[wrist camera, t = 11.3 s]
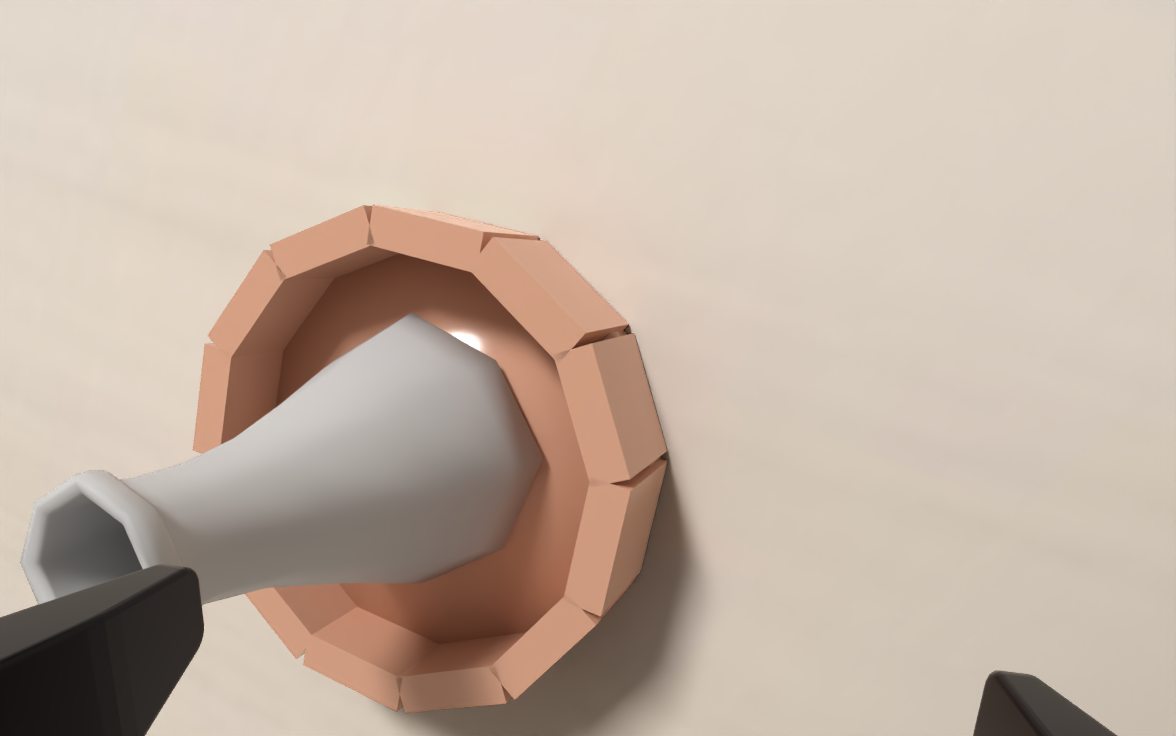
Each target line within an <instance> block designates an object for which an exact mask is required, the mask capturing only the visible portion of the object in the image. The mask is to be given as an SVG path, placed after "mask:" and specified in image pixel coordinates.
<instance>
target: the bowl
mask: <svg viewBox="0 0 1176 736" xmlns="http://www.w3.org/2000/svg"><path fill="white" fill-rule="evenodd" d="M270 246H271V250H272V251H269V250H263V252H262V253H261V255H260V257H259V258H258V260H257V261H256V263H255V264H254V266H253V267H252V269H251V270H250V272H249V273H248V275H247V276H246V278H245V279H244V281H243V282H242V284H241V285H240V287H239V288H238V290H237V292H236V293H235V295H234V296H233V298H232V299H231V301H230V302H229V304H228V305H227V307H226V308H225V310H224V311H223V313H222V314H221V316H220V317H219V319H218V320H217V322H216V323H215V325H214V327H213V328H212V330H211V331H210V333H209V334H208V336H209V338H210V339H211V340H212V341H213V342H214V343H208V344H205V346H204V355H203V364H202V373H201V382H200V391H199V400H198V409H197V418H196V427H195V436H194V445H193V450H194V451H196V452H199V453H201V454H203V453H205V452H207V451H209V450H211V449H213V448H215V447H217V446H219V445H221V444H223V443H225V442H227V441H229V440H231V439H233V438H235V437H236V436H238V435H239V434H240V433H242V432H243V431H244V430H246V429H247V428H249V427H250V426H251V425H253V424H254V423H255V422H257V421H258V420H259V419H261V418H262V417H264V416H265V415H266V414H268V413H269V412H270V411H272V410H273V409H274V408H276V407H277V406H279V405H280V404H281V403H282V402H284V401H285V400H286V399H287V398H288V397H290V396H291V395H292V394H293V393H294V392H296V391H297V390H298V389H299V388H301V387H302V386H303V385H304V384H305V383H307V382H308V381H309V380H310V379H311V378H313V377H314V376H315V375H316V374H318V373H319V372H320V371H321V370H322V369H324V368H325V367H326V366H328V365H329V364H330V363H332V362H333V361H335V360H336V359H337V358H339V357H340V356H342V355H343V354H345V353H347V352H348V351H350V350H351V349H353V348H355V347H356V346H358V345H360V344H361V343H363V342H364V341H366V340H368V339H369V338H371V337H372V336H374V335H376V334H377V333H379V332H380V331H382V330H384V329H385V328H387V327H389V326H390V325H392V324H393V323H395V322H397V321H398V320H400V319H401V318H403V317H405V316H406V315H408V314H409V313H411V312H412V313H414V314H415V315H417V316H419V317H421V318H422V319H424V320H426V321H428V322H429V323H431V324H433V325H435V326H437V327H438V328H440V329H442V330H444V331H445V332H447V333H449V334H451V335H452V336H454V337H456V338H458V339H459V340H461V341H463V342H465V343H467V344H468V345H470V346H472V347H474V348H475V349H477V350H479V351H481V352H482V353H484V354H486V355H488V356H489V357H491V358H493V359H495V360H496V361H497V363H498V365H499V367H500V369H501V372H502V374H503V376H504V378H505V380H506V382H507V384H508V386H509V388H510V390H511V392H512V394H513V397H514V399H515V401H516V403H517V405H518V407H519V409H520V411H521V413H522V415H523V417H524V419H525V421H526V424H527V426H528V428H529V430H530V432H531V434H532V436H533V438H534V440H535V442H536V444H537V446H538V448H539V451H540V453H541V455H542V457H543V460H542V463H541V465H540V467H539V469H538V472H537V474H536V476H535V478H534V481H533V483H532V485H531V487H530V490H529V492H528V494H527V496H526V499H525V501H524V503H523V505H522V508H521V510H520V512H519V514H518V517H517V519H516V521H515V523H514V526H513V528H512V530H511V533H510V535H509V537H508V539H507V542H506V544H505V546H504V548H503V549H500V550H498V551H496V552H494V553H491V554H489V555H487V556H484V557H482V558H480V559H478V560H475V561H473V562H471V563H468V564H466V565H464V566H462V567H459V568H457V569H455V570H452V571H450V572H448V573H446V574H443V575H441V576H439V577H436V578H434V579H432V580H430V581H427V582H421V583H342V584H325V585H307V586H290V587H273V588H264V589H260V590H256V591H253V592H249V593H245V595H246V596H247V597H248V598H249V600H250V601H251V602H252V603H253V605H254V606H255V607H256V609H257V610H258V611H259V612H260V614H261V615H262V616H263V617H264V619H265V620H266V621H267V623H268V624H269V625H270V626H271V628H272V629H273V630H274V631H275V633H276V634H277V635H278V636H279V638H280V639H281V640H282V642H283V643H284V644H285V645H286V647H287V648H288V649H289V650H290V652H291V653H292V654H293V656H294V657H295V658H296V659H297V658H299V657H300V656H302V655H303V654H305V656H304V663H303V665H305V666H307V667H309V668H311V669H313V670H315V671H317V672H319V673H321V674H323V675H325V676H327V677H329V678H331V679H333V680H335V681H337V682H339V683H341V684H343V685H345V686H347V687H349V688H351V689H353V690H355V691H357V692H359V693H361V694H363V695H365V696H367V697H369V698H371V699H373V700H375V701H377V702H379V703H381V704H383V705H385V706H387V707H389V708H391V709H393V710H395V711H398V710H399V709H400V708H401V707H402V706H403V707H404V711H405V713H413V712H423V711H434V710H444V709H455V708H465V707H475V706H486V705H496V704H507V702H508V701H509V700H510V699H511V698H512V697H513V698H514V700H515V699H516V698H517V697H518V696H520V695H521V694H522V693H523V692H524V691H525V690H526V689H527V688H528V687H529V686H530V685H532V684H533V683H534V682H535V681H536V680H537V679H538V678H539V677H540V676H541V675H542V674H544V673H545V672H546V671H547V670H548V669H549V668H550V667H551V666H552V665H553V664H554V663H556V662H557V661H558V660H559V659H560V658H561V657H562V656H563V655H564V654H565V653H566V652H568V651H569V650H570V649H571V648H572V647H573V646H574V645H575V644H576V643H577V642H578V641H580V640H581V639H582V638H583V637H584V636H585V635H586V634H587V633H588V632H589V631H590V630H591V629H593V628H594V627H595V626H596V625H597V624H598V622H599V621H600V620H601V619H602V618H603V617H604V616H605V614H606V613H607V612H608V611H609V610H610V609H611V608H612V606H613V605H614V604H615V603H616V602H617V601H618V600H619V598H620V597H621V596H622V595H623V594H624V593H625V591H626V590H627V589H628V588H629V587H630V586H631V585H632V583H633V582H634V581H635V580H636V579H635V577H636V576H637V575H638V574H639V573H640V572H641V568H642V564H643V560H644V556H645V552H646V547H647V543H648V539H649V535H650V531H651V527H652V523H653V519H654V515H655V511H656V507H657V502H658V498H659V494H660V490H661V486H662V482H663V478H664V474H665V470H666V466H667V461H666V460H663V459H660V456H661V455H663V454H664V453H665V452H667V448H666V444H665V441H664V437H663V434H662V430H661V427H660V423H659V420H658V416H657V413H656V409H655V405H654V402H653V398H652V395H651V391H650V388H649V384H648V381H647V377H646V374H645V370H644V367H643V363H642V360H641V356H640V353H639V349H638V345H637V342H636V338H635V335H634V333H633V334H628V335H627V334H626V332H625V331H624V329H625V328H626V327H627V326H628V323H627V322H626V321H625V320H624V319H623V318H622V317H621V316H620V315H619V314H618V313H617V312H616V311H615V310H614V309H613V308H612V307H611V306H610V305H609V304H608V303H607V301H606V300H605V299H604V298H603V297H602V296H601V295H600V294H599V293H598V292H597V291H596V290H595V289H594V288H593V287H592V286H591V285H590V284H589V283H588V282H587V281H586V280H585V279H584V278H583V277H582V276H581V275H580V274H579V273H578V272H577V271H576V270H575V269H574V268H573V267H572V266H571V265H570V264H569V263H568V262H567V261H566V260H565V259H564V258H563V257H562V256H561V255H560V254H559V253H558V252H557V251H556V250H555V249H554V248H553V247H552V246H551V245H550V244H549V243H548V242H547V241H541V240H538V236H536V235H532V234H527V233H523V232H519V231H515V230H511V229H506V228H502V227H498V226H494V225H490V224H486V223H481V222H477V221H473V220H469V219H465V218H461V217H456V216H452V215H448V214H444V213H440V212H432V211H424V210H415V209H406V208H398V207H389V206H381V205H373V206H365V205H363V206H361V207H358V208H356V209H354V210H351V211H349V212H347V213H344V214H342V215H339V216H337V217H335V218H332V219H330V220H328V221H325V222H323V223H321V224H318V225H316V226H313V227H311V228H309V229H306V230H304V231H302V232H299V233H297V234H294V235H292V236H290V237H287V238H285V239H283V240H280V241H278V242H275V243H273V244H271V245H270Z"/></svg>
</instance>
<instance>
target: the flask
mask: <svg viewBox="0 0 1176 736" xmlns="http://www.w3.org/2000/svg"><path fill="white" fill-rule="evenodd" d="M542 460H543V457H542V455H541V453H540V451H539V448H538V446H537V444H536V442H535V440H534V438H533V436H532V434H531V432H530V430H529V428H528V426H527V424H526V421H525V419H524V417H523V415H522V413H521V411H520V409H519V407H518V405H517V403H516V401H515V399H514V397H513V394H512V392H511V390H510V388H509V386H508V384H507V382H506V380H505V378H504V376H503V374H502V372H501V369H500V367H499V365H498V363H497V361H496V360H495V359H493V358H491V357H489V356H488V355H486V354H484V353H482V352H481V351H479V350H477V349H475V348H474V347H472V346H470V345H468V344H467V343H465V342H463V341H461V340H459V339H458V338H456V337H454V336H452V335H451V334H449V333H447V332H445V331H444V330H442V329H440V328H438V327H437V326H435V325H433V324H431V323H429V322H428V321H426V320H424V319H422V318H421V317H419V316H417V315H415V314H414V313H412V312H411V313H409V314H408V315H406V316H405V317H403V318H401V319H400V320H398V321H397V322H395V323H393V324H392V325H390V326H389V327H387V328H385V329H384V330H382V331H380V332H379V333H377V334H376V335H374V336H372V337H371V338H369V339H368V340H366V341H364V342H363V343H361V344H360V345H358V346H356V347H355V348H353V349H351V350H350V351H348V352H347V353H345V354H343V355H342V356H340V357H339V358H337V359H336V360H335V361H333V362H332V363H330V364H329V365H328V366H326V367H325V368H324V369H322V370H321V371H320V372H319V373H318V374H316V375H315V376H314V377H313V378H311V379H310V380H309V381H308V382H307V383H305V384H304V385H303V386H302V387H301V388H299V389H298V390H297V391H296V392H294V393H293V394H292V395H291V396H290V397H288V398H287V399H286V400H285V401H284V402H282V403H281V404H280V405H279V406H277V407H276V408H274V409H273V410H272V411H270V412H269V413H268V414H266V415H265V416H264V417H262V418H261V419H259V420H258V421H257V422H255V423H254V424H253V425H251V426H250V427H249V428H247V429H246V430H244V431H243V432H242V433H240V434H239V435H238V436H236V437H235V438H233V439H231V440H229V441H227V442H225V443H223V444H221V445H219V446H217V447H215V448H213V449H211V450H209V451H207V452H205V453H203V454H201V455H199V456H197V457H195V458H193V459H191V460H189V461H187V462H185V463H182V464H179V465H175V466H172V467H168V468H165V469H162V470H158V471H155V472H151V473H148V474H144V475H141V476H137V477H134V478H127V479H120V480H119V479H117V478H116V477H115V476H113V475H112V474H111V473H109V472H107V471H104V470H89V471H86V472H83V473H80V474H77V475H75V476H74V477H72V478H71V479H69V480H68V481H66V482H65V483H63V484H62V485H60V486H59V487H57V488H56V489H54V490H53V491H51V492H50V493H48V494H47V495H45V496H44V497H42V498H40V499H39V500H37V501H36V502H35V504H34V508H33V512H32V516H31V520H30V524H29V529H28V533H27V537H26V541H25V545H24V549H23V553H22V557H21V562H20V563H21V565H22V568H23V570H24V572H25V574H26V577H27V579H28V581H29V584H30V586H31V588H32V591H33V593H34V595H35V598H36V600H37V602H38V605H39V604H42V603H45V602H48V601H51V600H54V599H56V598H59V597H62V596H65V595H68V594H71V593H74V592H77V591H80V590H83V589H86V588H89V587H92V586H95V585H98V584H101V583H104V582H107V581H110V580H113V579H116V578H119V577H121V576H124V575H127V574H130V573H133V572H136V571H139V570H142V569H145V568H148V567H151V566H154V565H158V564H168V565H175V566H183V567H189V568H191V569H193V570H194V571H195V572H196V574H197V576H198V579H199V586H200V595H201V604H206V603H210V602H214V601H218V600H222V599H226V598H229V597H233V596H237V595H241V594H245V593H249V592H253V591H256V590H260V589H264V588H273V587H290V586H307V585H325V584H342V583H421V582H427V581H430V580H432V579H434V578H436V577H439V576H441V575H443V574H446V573H448V572H450V571H452V570H455V569H457V568H459V567H462V566H464V565H466V564H468V563H471V562H473V561H475V560H478V559H480V558H482V557H484V556H487V555H489V554H491V553H494V552H496V551H498V550H500V549H503V548H504V546H505V544H506V542H507V539H508V537H509V535H510V533H511V530H512V528H513V526H514V523H515V521H516V519H517V517H518V514H519V512H520V510H521V508H522V505H523V503H524V501H525V499H526V496H527V494H528V492H529V490H530V487H531V485H532V483H533V481H534V478H535V476H536V474H537V472H538V469H539V467H540V465H541V463H542Z"/></svg>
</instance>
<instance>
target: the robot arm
mask: <svg viewBox="0 0 1176 736" xmlns="http://www.w3.org/2000/svg"><path fill="white" fill-rule="evenodd" d="M203 633H204V621H203V613H202V604H201V595H200V586H199V579H198V576H197V574H196V572H195V571H194V570H193V569H191V568H189V567H183V566H175V565H168V564H158V565H154V566H151V567H148V568H145V569H142V570H139V571H136V572H133V573H130V574H127V575H124V576H121V577H119V578H116V579H113V580H110V581H107V582H104V583H101V584H98V585H95V586H92V587H89V588H86V589H83V590H80V591H77V592H74V593H71V594H68V595H65V596H62V597H59V598H56V599H54V600H51V601H48V602H45V603H42V604H39V605H36V606H33V607H30V608H27V609H24V610H21V611H18V612H15V613H12V614H9V615H6V616H3V617H0V736H145V735H146V733H147V731H148V730H149V728H150V727H151V725H152V723H153V722H154V720H155V719H156V717H157V715H158V714H159V712H160V710H161V709H162V707H163V706H164V704H165V702H166V701H167V699H168V697H169V696H170V694H171V693H172V691H173V689H174V688H175V686H176V685H177V683H178V681H179V680H180V678H181V676H182V675H183V673H184V672H185V670H186V668H187V667H188V665H189V663H190V662H191V660H192V659H193V657H194V655H195V654H196V652H197V650H198V648H199V646H200V644H201V641H202V638H203ZM973 736H1117V735H1116V734H1114V733H1113V732H1111V731H1110V730H1109V729H1107V728H1106V727H1105V726H1103V725H1102V724H1100V723H1099V722H1098V721H1096V720H1095V719H1094V718H1092V717H1091V716H1089V715H1088V714H1087V713H1085V712H1084V711H1083V710H1081V709H1080V708H1078V707H1077V706H1076V705H1074V704H1073V703H1071V702H1070V701H1069V700H1067V699H1066V698H1065V697H1063V696H1062V695H1060V694H1059V693H1058V692H1056V691H1055V690H1054V689H1052V688H1051V687H1049V686H1048V685H1047V684H1045V683H1044V682H1042V681H1041V680H1040V679H1038V678H1037V677H1035V676H1033V675H1029V674H1022V673H1014V672H1006V671H994V672H992V673H991V674H989V676H988V678H987V680H986V682H985V686H984V690H983V695H982V699H981V703H980V708H979V712H978V716H977V721H976V725H975V729H974V734H973Z"/></svg>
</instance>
